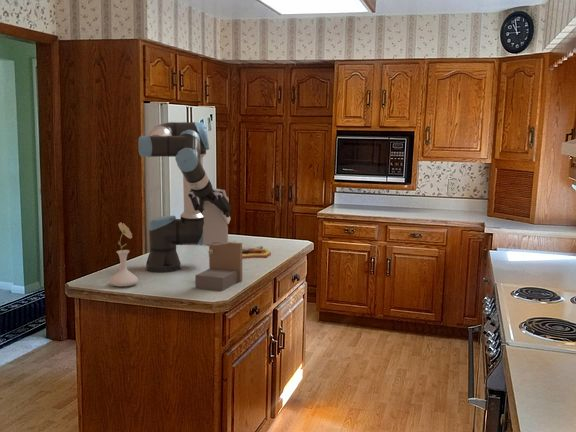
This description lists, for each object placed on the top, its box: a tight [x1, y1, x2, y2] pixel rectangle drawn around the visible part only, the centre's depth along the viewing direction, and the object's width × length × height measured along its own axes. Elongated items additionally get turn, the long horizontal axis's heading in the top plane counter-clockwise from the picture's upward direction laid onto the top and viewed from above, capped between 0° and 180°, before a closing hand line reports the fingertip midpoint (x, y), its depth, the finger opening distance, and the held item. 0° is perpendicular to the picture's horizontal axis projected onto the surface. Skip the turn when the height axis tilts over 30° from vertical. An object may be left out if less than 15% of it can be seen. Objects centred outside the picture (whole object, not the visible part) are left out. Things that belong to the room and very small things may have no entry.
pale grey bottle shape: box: [202, 188, 230, 246], centre depth 235 cm, size 11×4×22 cm, turn 105°
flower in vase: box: [108, 222, 139, 287], centre depth 238 cm, size 13×11×25 cm
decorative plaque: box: [232, 240, 272, 260], centre depth 298 cm, size 30×7×20 cm
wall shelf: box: [195, 241, 243, 291], centre depth 240 cm, size 14×16×16 cm
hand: (219, 220), depth 238 cm, fingers closed on pale grey bottle shape, 8 cm apart
